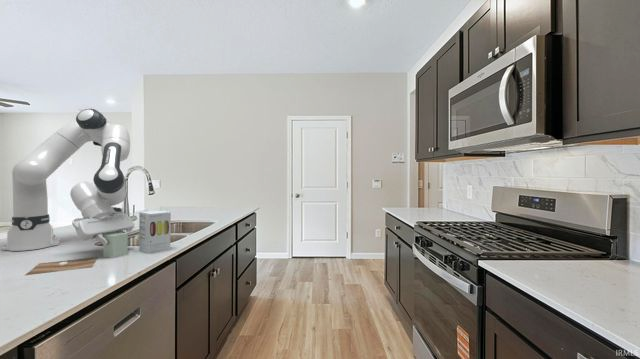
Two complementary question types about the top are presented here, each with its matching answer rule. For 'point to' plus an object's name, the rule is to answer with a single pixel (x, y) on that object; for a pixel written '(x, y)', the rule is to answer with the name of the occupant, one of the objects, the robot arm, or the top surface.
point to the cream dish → (63, 264)
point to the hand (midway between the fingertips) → (116, 242)
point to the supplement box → (154, 231)
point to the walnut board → (70, 266)
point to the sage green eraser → (116, 245)
